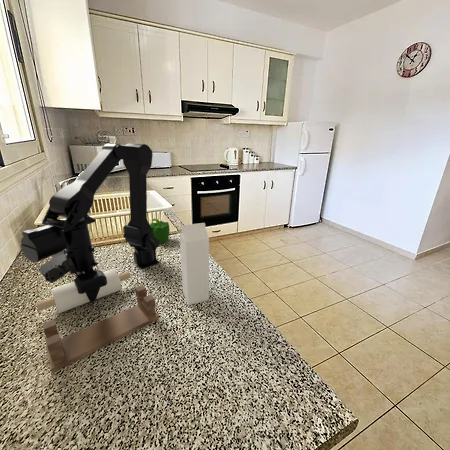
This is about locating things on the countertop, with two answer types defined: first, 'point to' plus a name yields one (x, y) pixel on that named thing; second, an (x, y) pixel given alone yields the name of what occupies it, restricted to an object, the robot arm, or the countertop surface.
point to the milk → (195, 262)
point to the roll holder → (98, 332)
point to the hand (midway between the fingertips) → (89, 295)
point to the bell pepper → (160, 230)
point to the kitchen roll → (70, 298)
